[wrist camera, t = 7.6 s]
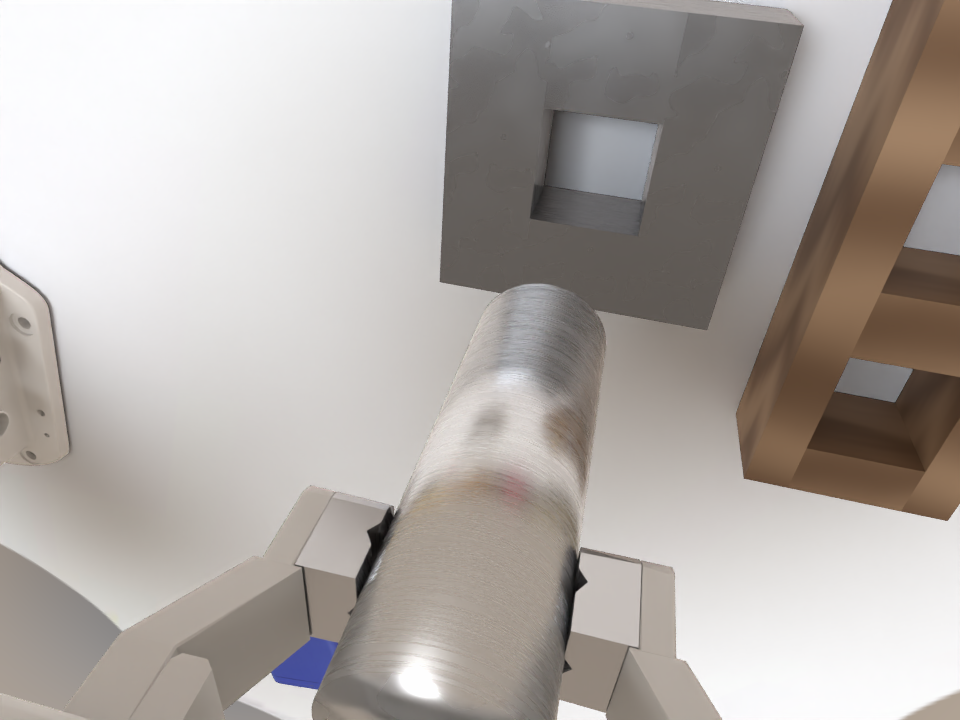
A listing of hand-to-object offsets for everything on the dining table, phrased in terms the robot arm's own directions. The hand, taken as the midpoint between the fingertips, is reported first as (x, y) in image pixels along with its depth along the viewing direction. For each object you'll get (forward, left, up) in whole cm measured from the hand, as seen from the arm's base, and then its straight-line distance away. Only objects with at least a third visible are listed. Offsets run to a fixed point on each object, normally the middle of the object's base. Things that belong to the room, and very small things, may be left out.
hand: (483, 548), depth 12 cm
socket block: (0, 0, -23) cm, 23 cm away
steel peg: (0, 0, -7) cm, 7 cm away
